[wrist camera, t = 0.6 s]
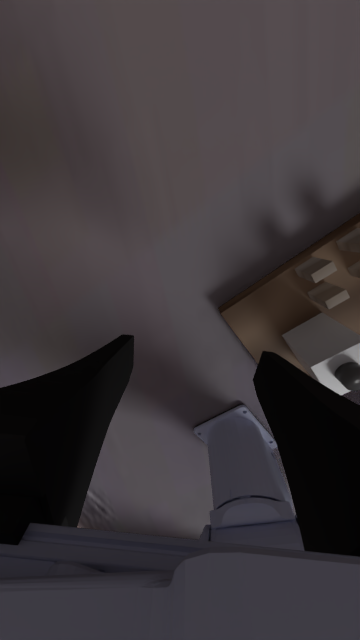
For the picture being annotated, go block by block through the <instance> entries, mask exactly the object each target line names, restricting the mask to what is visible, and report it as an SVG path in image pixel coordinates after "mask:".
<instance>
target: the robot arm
mask: <svg viewBox="0 0 360 640" xmlns="http://www.w3.org/2000/svg"><path fill="white" fill-rule="evenodd" d="M133 354H134V336H132V335H124V334H123V335H121V336H119V337H118V338H116V339H115V340H113V341H111V342H110V343H108V344H107V345H105V346H103V347H102V348H100V349H99V350H97V351H95V352H93V353H91V354H90V355H88V356H86V357H84V358H82V359H80V360H78V361H76V362H74V363H72V364H70V365H68V366H65V367H63V368H61V369H58V370H56V371H53V372H50V373H47V374H45V375H42V376H39V377H36V378H33V379H30V380H27V381H24V382H21V383H17V384H13V385H10V386H6V387H2V388H0V640H360V405H358V404H356V403H354V402H352V401H350V400H349V399H347V398H345V397H343V396H341V395H339V394H338V393H336V392H334V391H333V390H331V389H329V388H328V387H326V386H324V385H323V384H321V383H320V382H318V381H317V380H315V379H313V378H312V377H310V376H309V375H307V374H306V373H305V372H303V371H302V370H300V369H299V368H297V367H296V366H294V365H293V364H291V363H290V362H289V361H287V360H286V359H284V358H283V357H281V356H280V355H278V354H276V353H274V352H269V351H262V354H261V357H260V360H259V363H258V366H257V369H256V372H255V375H254V378H253V382H254V386H255V390H256V394H257V397H258V400H259V402H260V405H261V407H262V409H263V412H264V414H265V417H266V419H267V421H268V424H269V426H270V428H271V431H272V433H273V436H274V438H275V440H274V438H273V437H272V436H271V435H270V434H269V433H268V431H267V430H266V429H265V428H264V427H263V426H262V424H261V423H260V422H259V421H258V420H257V419H256V417H255V416H254V415H253V414H252V413H251V412H250V410H249V409H248V408H247V407H246V406H245V405H239V406H237V407H235V408H233V409H231V410H229V411H227V412H225V413H223V414H221V415H219V416H217V417H215V418H213V419H211V420H209V421H207V422H205V423H203V424H201V425H199V426H197V427H195V428H194V433H195V434H196V435H197V436H198V437H199V438H200V439H201V440H202V441H203V442H205V443H206V444H207V445H208V454H209V464H210V475H211V485H212V496H213V506H214V510H212V511H210V522H211V525H205V527H204V529H203V532H202V534H201V536H200V540H193V539H183V538H174V537H164V536H154V535H144V534H135V533H125V532H115V531H106V530H96V529H86V528H77V525H78V522H79V518H80V515H81V511H82V508H83V505H84V501H85V498H86V494H87V491H88V488H89V485H90V482H91V478H92V475H93V472H94V469H95V466H96V462H97V459H98V456H99V453H100V450H101V447H102V444H103V441H104V438H105V435H106V433H107V430H108V427H109V424H110V422H111V419H112V417H113V415H114V412H115V410H116V408H117V406H118V404H119V402H120V399H121V397H122V395H123V393H124V391H125V388H126V386H127V384H128V382H129V378H130V375H131V372H132V368H133ZM277 447H278V450H279V453H280V456H281V459H282V463H283V466H284V469H285V473H286V477H287V480H288V484H289V487H290V491H291V495H292V499H293V503H294V507H295V511H296V515H295V516H294V513H293V507H292V500H291V496H290V494H289V491H288V488H287V486H286V483H285V481H284V478H283V476H282V473H281V470H280V468H279V465H278V463H277V460H276V458H275V455H274V452H273V450H272V449H274V448H277Z"/></svg>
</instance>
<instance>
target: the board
mask: <svg viewBox="0 0 360 640" xmlns="http://www.w3.org/2000/svg"><path fill="white" fill-rule="evenodd" d="M218 309H219V311H220V314H221V315H222V316H223V318H224V319H225V320H226V322H227V323H228V324H229V326H230V327H231V328H232V330H233V331H234V332H235V334H236V335H237V336H238V338H239V339H240V340H241V342H242V343H243V344H244V346H245V347H246V348H247V350H248V351H249V352H250V354H251V355H252V357H253V358H254V359H255V361H256V362H257V363H259V360H260V357H261V354H262V351H269V352H274V353H276V354H278V355H280V356H281V357H283V358H284V359H286V360H287V361H289V362H290V363H291V364H293V365H294V366H296V367H297V368H299V369H300V370H302V371H303V372H305V373H306V374H307V375H309V376H310V377H311V375H310V374H309V373H308V372H307V371H306V370H305V368H304V367H303V366H302V365H301V364H300V363H299V361H298V360H297V358H296V356H295V355H294V353H293V352H292V350H291V349H290V347H289V346H288V344H287V343H286V341H285V339H284V338H283V336H282V335H283V334H285V333H287V332H288V331H290V330H292V329H294V328H295V327H297V326H299V325H301V324H302V323H304V322H306V321H308V320H309V319H311V318H313V317H315V316H317V315H318V314H320V313H324V314H326V315H327V316H329V317H331V318H332V319H334V320H336V321H337V322H339V323H340V324H342V325H344V326H345V327H347V328H349V329H350V330H352V331H354V332H355V333H357V334H359V335H360V213H359V214H358V215H356V216H355V217H353V218H352V219H350V220H349V221H347V222H346V223H344V224H343V225H341V226H340V227H338V228H337V229H335V230H334V231H332V232H331V233H329V234H328V235H326V236H325V237H323V238H322V239H320V240H319V241H317V242H316V243H314V244H313V245H311V246H310V247H308V248H307V249H305V250H304V251H302V252H301V253H299V254H298V255H296V256H295V257H294V258H292V259H291V260H289V261H288V262H286V263H285V264H283V265H282V266H280V267H279V268H277V269H276V270H274V271H273V272H271V273H270V274H268V275H267V276H265V277H264V278H262V279H261V280H259V281H258V282H256V283H255V284H253V285H252V286H250V287H249V288H247V289H246V290H244V291H243V292H241V293H240V294H238V295H237V296H235V297H234V298H232V299H231V300H229V301H228V302H226V303H225V304H223V305H222V306H221V307H219V308H218Z"/></svg>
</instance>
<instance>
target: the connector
mask: <svg viewBox="0 0 360 640" xmlns="http://www.w3.org/2000/svg"><path fill="white" fill-rule="evenodd" d="M282 336H283V338H284V339H285V341H286V343H287V344H288V346H289V347H290V349H291V350H292V352H293V353H294V355H295V356H296V358H297V360H298V361H299V363H300V364H301V365H302V366H303V367H304V368H305V370H306V371H307V372H308V373H309V374H310V375H311V377H312V378H313V379H315V380H317V381H318V382H320V383H321V384H323V385H324V386H326V387H328V388H329V389H331V390H333V391H334V392H336V393H338V394H339V395H343V394H345V393H347V392H350V391H357V390H360V335H359V334H357V333H355V332H354V331H352V330H350V329H349V328H347V327H345V326H344V325H342V324H340V323H339V322H337V321H336V320H334V319H332V318H331V317H329V316H327V315H326V314H324V313H320V314H318V315H317V316H315V317H313V318H311V319H309V320H308V321H306V322H304V323H302V324H301V325H299V326H297V327H295V328H294V329H292V330H290V331H288V332H287V333H285V334H283V335H282Z"/></svg>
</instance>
